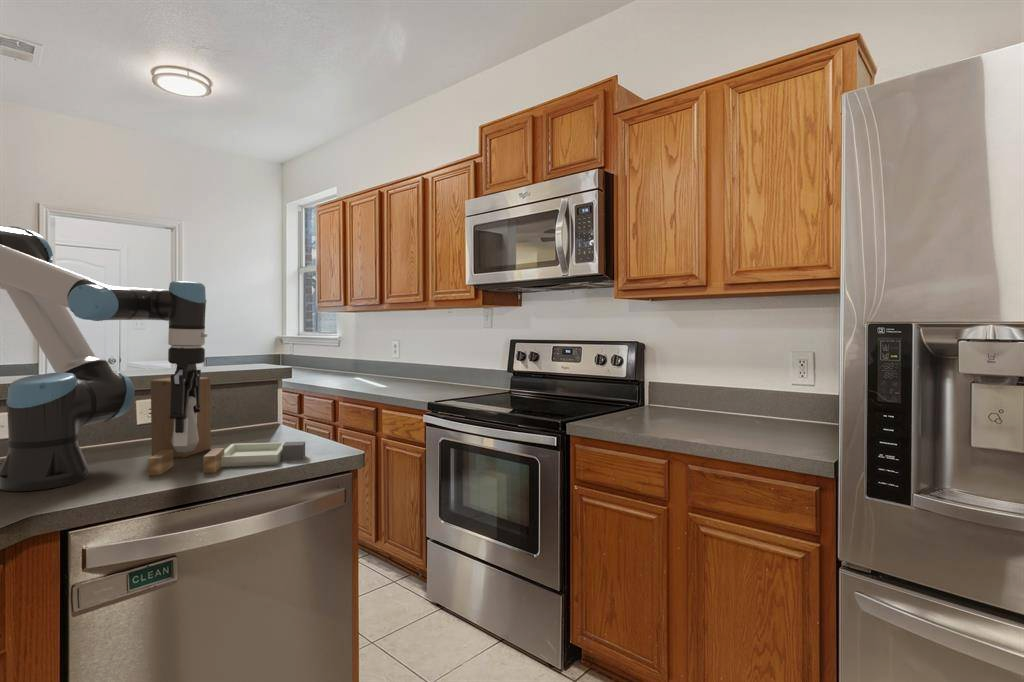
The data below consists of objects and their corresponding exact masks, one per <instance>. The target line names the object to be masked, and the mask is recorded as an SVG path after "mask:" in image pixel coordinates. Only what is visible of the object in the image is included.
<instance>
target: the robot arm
mask: <svg viewBox="0 0 1024 682" xmlns="http://www.w3.org/2000/svg"><path fill="white" fill-rule="evenodd" d="M53 256H54V254H53V250H52V247H51V245H50V243H49V242H48V241H47V240H46V238H44V237H43V236H42V235H41V234H39V233H37V232H35V231H33V230H30V229H26V228H23V227H20V226H6V225H0V289H1V290H5V291H6V293H7V295H8V296H9V297H10V299H11V301H12V303H13V305H14V306H15V308H16V309H17V311H18V313H19V314H20V316H21V318H22V320H23V322H24V323H25V325H26V326H27V328H28V329H29V331H30V332H31V335H32V336H33V338H34V339H35V341H36V342H37V344H38V346H39V347H40V349H41V351H42V353H43V355H44V356H45V358H46V359H47V361H48V363H49V364H50V365H51V368H52V370H53V371H54V372H49V373H44V374H33V375H28V376H25V377H21V378H18V379H15V380H13V381H12V382H11V383H10V384H9V386H8V388H7V399H6V400H5V402H6V406H7V407H6V409H7V410H6V411H7V433H8V452H7V454H6V457H5V459H4V462H3V465H2V468H1V470H0V490H2V491H4V492H5V491H6V492H31V491H32V492H33V491H41V490H49V489H55V488H59V487H64V486H67V485H72V484H75V483H78V482H81V481H83V480H85V479H87V478H88V477H89V465H88V463H87V460H86V458H85V456H84V454H83V452H82V450H81V447H80V445H79V441H78V439H79V436H78V434H79V433H78V431H79V428H80V427H83V426H88V425H92V424H97V423H103V422H108V421H111V420H113V419H116V418H120V417H122V416H123V415H124V414H126V413H127V412H128V411H129V409H130V408H131V406H132V404H133V400H134V398H135V387H134V384H133V381H132V380H131V379H130V377H129V376H127V374H125V373H121V372H119V371H114V370H113V369H112V368H111V366H110V363H109V362H108V361H107V360H106V359H103V358H100V357H99V358H98V357H96V355H95V353H94V352H93V350H92V348H91V347H90V345H89V343H88V342H87V340H86V338H85V337H84V335H83V334H82V332H81V330H80V328H79V327H78V325H77V323H76V321H75V319H74V318H73V317H72V314H73V315H74V316H75V317H77V318H79V319H81V320H87V321H88V320H89V321H93V322H102V321H145V320H146V321H166V322H168V335H167V337H168V339H167V344H168V345H169V346H170V347H169V348H168V349H167V350H168V353H167V355H168V356H167V358H168V359H167V361H168V363H169V364H175V365H176V369H175V371H174V374H171V375H170V377H169V378H171V408H170V416H169V418H170V419H174V446H187V441H188V418H186V414H187V405H188V397H189V396H192V397H195V398H196V405H195V406H193V409H194V415H195V420H196V425H197V413H195V412H201V409H198V408H200V377H201V373H202V370H201V369H200V368H197V365H198V364H203V363H204V362H205V361H206V360H205V359H206V358H205V357H206V348H204V347H202V346H205V344H206V341H205V340H206V338H207V337H208V333H207V332H206V307H207V298H206V296H207V295H206V286H205V285H204V283H202V282H194V281H181V280H177V281H175V280H174V281H173V280H172V281H171V282H169V286H168V288H165V289H164V288H148V287H147V288H146V287H134V286H133V287H131V286H119V285H110V284H106V283H103V282H100V281H98V280H95V279H92V278H90V277H88V276H84V275H82V274H79V273H76V272H74V271H72V270H69V269H67V268H63V267H61V266H58V265H56V264H53V262H54V260H53V259H52V257H53ZM67 308H68V309H69V310H70V312H72V314H70V312H69V310H68V309H67Z"/></svg>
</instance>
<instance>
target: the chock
mask: <svg viewBox="0 0 1024 682" xmlns="http://www.w3.org/2000/svg"><path fill="white" fill-rule="evenodd" d="M284 442H285V441H284ZM305 457H306V441H286V442H285V443H284V444H283V458H282V461H283V460H284V461H303V460H304V459H305Z"/></svg>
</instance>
